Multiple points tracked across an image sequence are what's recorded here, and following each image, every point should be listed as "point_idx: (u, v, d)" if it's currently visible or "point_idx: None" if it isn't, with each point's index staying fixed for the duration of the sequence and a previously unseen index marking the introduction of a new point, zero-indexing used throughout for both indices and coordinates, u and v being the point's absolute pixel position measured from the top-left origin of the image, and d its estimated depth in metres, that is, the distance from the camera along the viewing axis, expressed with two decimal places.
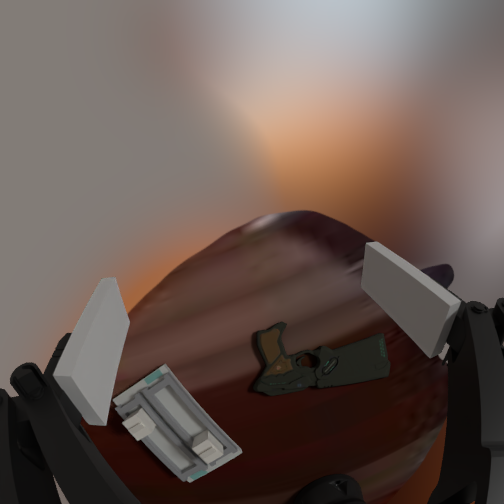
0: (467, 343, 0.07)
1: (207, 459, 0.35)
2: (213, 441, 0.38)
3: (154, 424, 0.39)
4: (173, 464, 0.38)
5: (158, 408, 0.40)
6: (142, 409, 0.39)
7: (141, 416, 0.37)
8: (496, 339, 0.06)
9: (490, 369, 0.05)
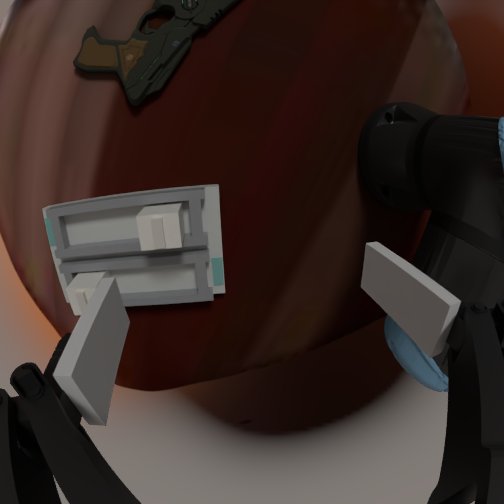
0: (467, 343, 0.07)
1: (172, 241, 0.25)
2: (153, 211, 0.25)
3: (101, 273, 0.28)
4: (179, 292, 0.32)
5: (82, 252, 0.27)
6: (78, 274, 0.28)
7: (75, 283, 0.26)
8: (496, 339, 0.06)
9: (490, 369, 0.05)
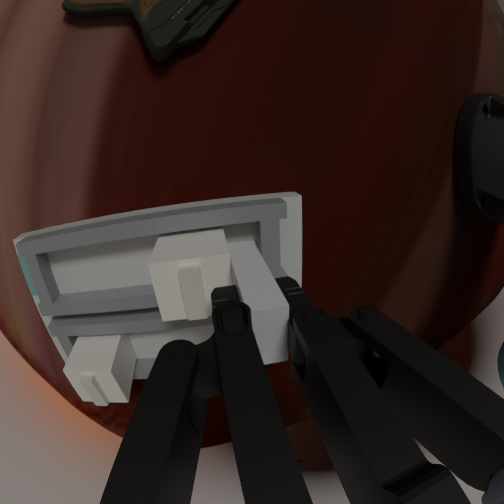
0: (310, 364, 0.07)
1: None
2: (178, 249, 0.14)
3: (115, 339, 0.18)
4: None
5: (81, 309, 0.17)
6: (79, 338, 0.18)
7: (77, 359, 0.15)
8: (348, 347, 0.07)
9: (353, 391, 0.06)
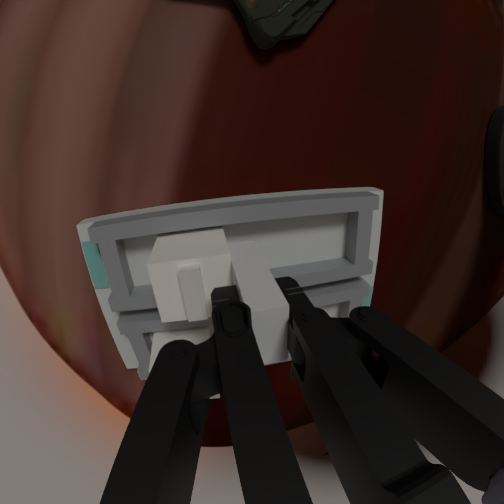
0: (310, 364, 0.07)
1: None
2: (177, 249, 0.14)
3: (203, 332, 0.18)
4: None
5: None
6: (157, 334, 0.18)
7: None
8: (348, 347, 0.07)
9: (353, 391, 0.06)
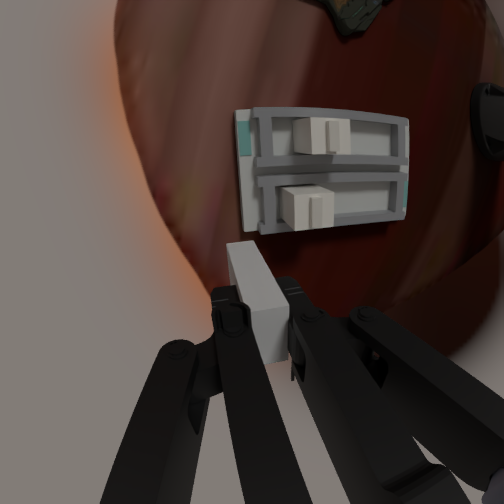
0: (310, 364, 0.07)
1: (343, 147, 0.23)
2: None
3: (317, 186, 0.28)
4: (377, 212, 0.31)
5: (297, 161, 0.27)
6: (285, 188, 0.27)
7: (298, 191, 0.25)
8: (348, 347, 0.07)
9: (353, 391, 0.06)
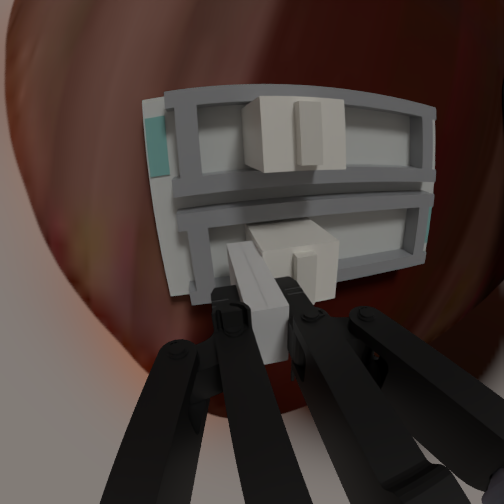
0: (310, 364, 0.07)
1: (331, 156, 0.12)
2: None
3: (308, 222, 0.16)
4: (386, 255, 0.20)
5: (247, 182, 0.15)
6: (253, 227, 0.16)
7: (273, 240, 0.14)
8: (348, 347, 0.07)
9: (353, 391, 0.06)
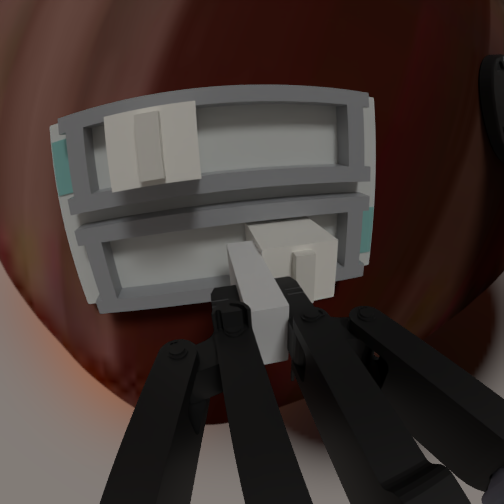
0: (310, 364, 0.07)
1: (181, 166, 0.11)
2: None
3: (308, 221, 0.17)
4: None
5: (130, 197, 0.14)
6: (253, 226, 0.16)
7: (273, 238, 0.14)
8: (348, 347, 0.07)
9: (353, 391, 0.06)
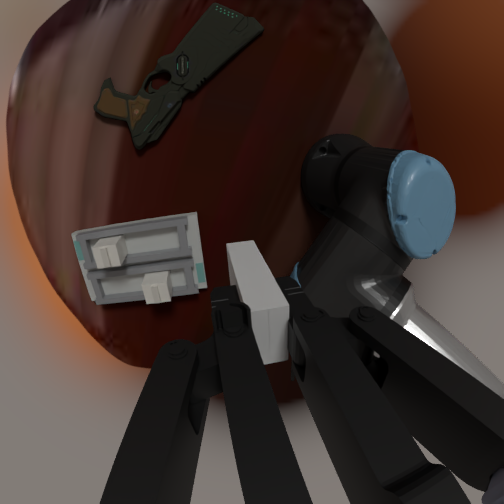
0: (310, 364, 0.07)
1: (115, 262, 0.37)
2: (103, 243, 0.37)
3: (166, 272, 0.43)
4: (174, 288, 0.45)
5: None
6: (146, 274, 0.43)
7: (148, 280, 0.41)
8: (348, 347, 0.07)
9: (353, 391, 0.06)
